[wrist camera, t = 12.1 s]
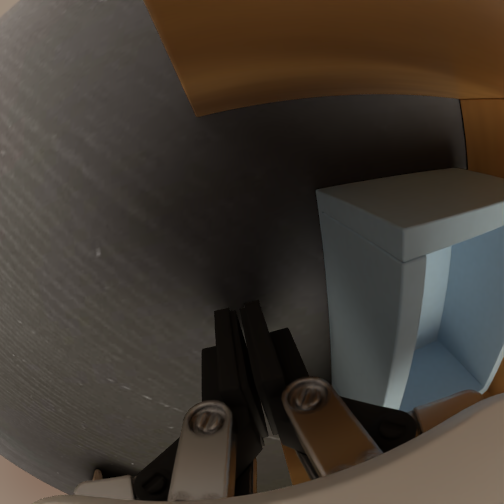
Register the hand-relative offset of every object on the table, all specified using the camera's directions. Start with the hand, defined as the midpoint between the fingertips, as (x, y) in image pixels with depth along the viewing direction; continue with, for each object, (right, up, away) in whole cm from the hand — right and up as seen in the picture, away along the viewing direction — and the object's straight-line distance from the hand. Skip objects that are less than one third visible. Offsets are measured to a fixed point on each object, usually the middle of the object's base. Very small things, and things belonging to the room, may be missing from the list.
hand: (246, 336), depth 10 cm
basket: (+8, +2, +2) cm, 8 cm away
